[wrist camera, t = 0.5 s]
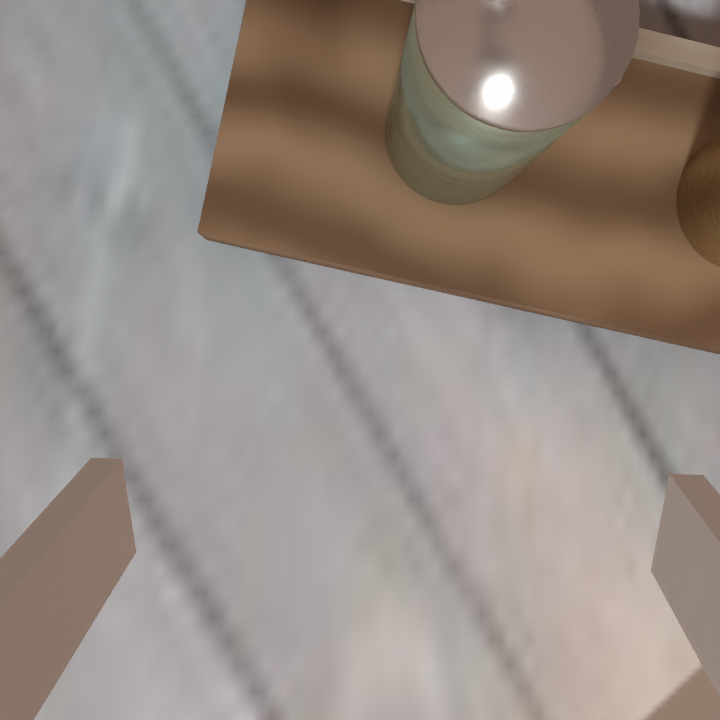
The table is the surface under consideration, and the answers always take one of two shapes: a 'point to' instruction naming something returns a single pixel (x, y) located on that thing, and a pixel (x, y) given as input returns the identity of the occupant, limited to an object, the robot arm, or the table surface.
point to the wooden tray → (476, 220)
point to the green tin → (498, 87)
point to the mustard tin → (701, 201)
